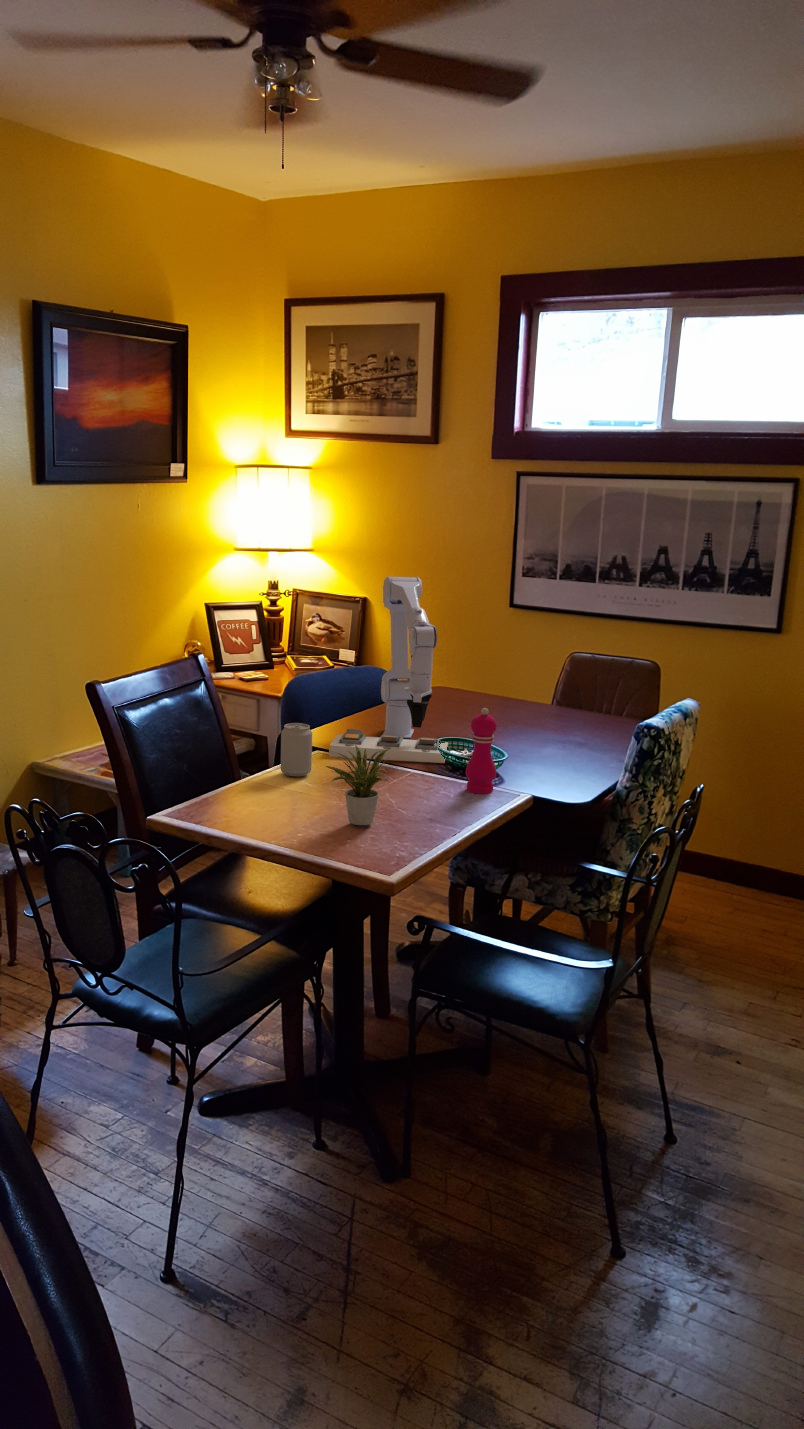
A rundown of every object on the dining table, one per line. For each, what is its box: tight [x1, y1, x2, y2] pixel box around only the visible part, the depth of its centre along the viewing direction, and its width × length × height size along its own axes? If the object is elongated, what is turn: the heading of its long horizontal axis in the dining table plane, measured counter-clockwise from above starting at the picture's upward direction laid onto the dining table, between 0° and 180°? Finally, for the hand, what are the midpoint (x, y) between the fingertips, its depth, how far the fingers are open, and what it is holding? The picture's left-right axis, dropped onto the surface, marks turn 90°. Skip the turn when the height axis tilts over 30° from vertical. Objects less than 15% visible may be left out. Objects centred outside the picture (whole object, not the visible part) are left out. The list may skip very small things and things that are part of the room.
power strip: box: [328, 732, 449, 764], centre depth 268 cm, size 12×42×4 cm, turn 83°
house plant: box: [325, 745, 392, 826], centre depth 215 cm, size 14×14×16 cm
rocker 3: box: [419, 737, 437, 744], centre depth 268 cm, size 6×4×1 cm, turn 173°
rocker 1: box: [344, 728, 363, 741], centre depth 270 cm, size 6×4×1 cm, turn 173°
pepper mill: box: [465, 707, 498, 795], centre depth 239 cm, size 7×7×20 cm
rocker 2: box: [380, 735, 399, 742], centre depth 269 cm, size 6×4×1 cm, turn 173°
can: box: [280, 722, 313, 777], centre depth 248 cm, size 8×8×12 cm
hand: (418, 723), depth 266 cm, fingers open, 7 cm apart
